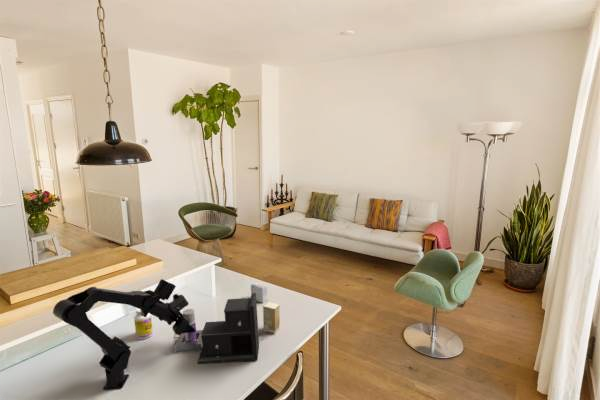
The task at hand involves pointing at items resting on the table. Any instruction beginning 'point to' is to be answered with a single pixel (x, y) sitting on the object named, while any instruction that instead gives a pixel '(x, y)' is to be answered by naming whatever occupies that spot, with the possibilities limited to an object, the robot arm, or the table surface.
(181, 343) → the steel collar
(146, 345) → the table surface
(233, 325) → the black drawer cabinet
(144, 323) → the supplement bottle
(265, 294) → the medicine box
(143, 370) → the table surface
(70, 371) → the table surface
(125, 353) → the robot arm
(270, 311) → the skincare box
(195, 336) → the container
